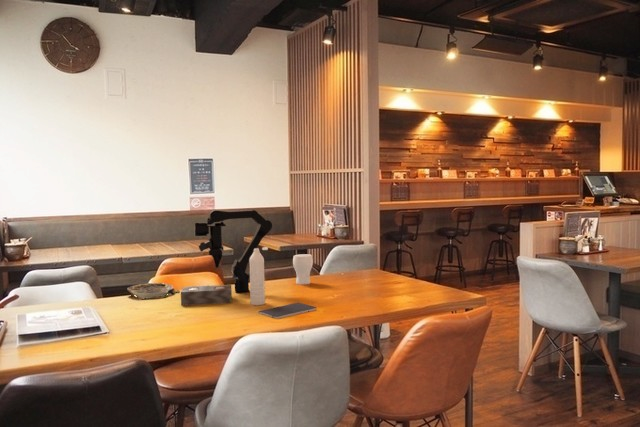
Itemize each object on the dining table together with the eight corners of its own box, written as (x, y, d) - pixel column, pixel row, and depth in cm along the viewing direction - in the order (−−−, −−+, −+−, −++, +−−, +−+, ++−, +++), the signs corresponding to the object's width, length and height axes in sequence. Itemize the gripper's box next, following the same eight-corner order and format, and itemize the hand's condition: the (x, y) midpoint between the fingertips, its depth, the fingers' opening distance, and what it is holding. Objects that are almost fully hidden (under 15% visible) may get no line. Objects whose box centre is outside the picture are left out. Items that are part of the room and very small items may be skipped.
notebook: (298, 305, 235) (258, 314, 221) (298, 302, 235) (258, 310, 221) (317, 310, 225) (276, 320, 212) (316, 307, 225) (276, 316, 212)
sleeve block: (231, 297, 253) (231, 284, 252) (231, 302, 241) (230, 289, 240) (184, 299, 250) (183, 286, 249) (181, 305, 238) (180, 292, 237)
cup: (290, 284, 280) (289, 256, 279) (297, 281, 290) (296, 253, 289) (309, 285, 277) (309, 257, 276) (315, 281, 287) (315, 254, 286)
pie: (117, 302, 247) (117, 292, 247) (122, 292, 273) (122, 282, 273) (179, 298, 254) (179, 288, 254) (179, 288, 281) (178, 278, 280)
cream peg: (199, 300, 247) (198, 287, 246) (198, 302, 242) (197, 289, 242) (189, 300, 246) (189, 288, 246) (188, 302, 242) (188, 290, 241)
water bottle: (254, 306, 233) (252, 249, 232) (248, 303, 239) (246, 248, 237) (272, 303, 238) (270, 248, 236) (265, 300, 244) (264, 246, 242)
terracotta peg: (225, 298, 248) (225, 286, 248) (225, 301, 244) (224, 288, 244) (215, 299, 248) (215, 287, 247) (215, 301, 243) (214, 289, 243)
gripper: (200, 234, 268) (201, 265, 269) (197, 238, 249) (198, 271, 250) (223, 233, 269) (224, 264, 270) (221, 237, 251) (222, 270, 252)
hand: (217, 267), depth 261 cm, fingers closed
